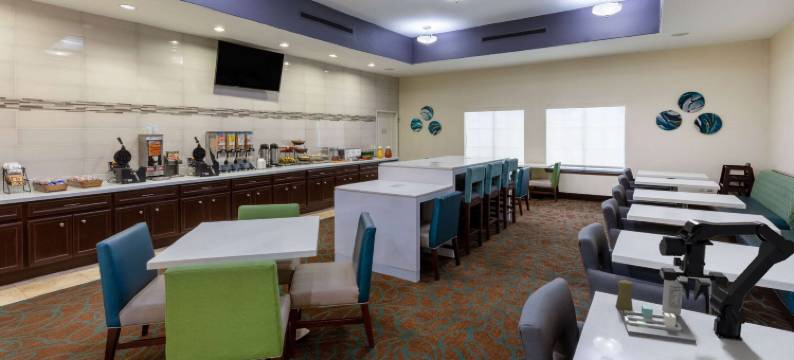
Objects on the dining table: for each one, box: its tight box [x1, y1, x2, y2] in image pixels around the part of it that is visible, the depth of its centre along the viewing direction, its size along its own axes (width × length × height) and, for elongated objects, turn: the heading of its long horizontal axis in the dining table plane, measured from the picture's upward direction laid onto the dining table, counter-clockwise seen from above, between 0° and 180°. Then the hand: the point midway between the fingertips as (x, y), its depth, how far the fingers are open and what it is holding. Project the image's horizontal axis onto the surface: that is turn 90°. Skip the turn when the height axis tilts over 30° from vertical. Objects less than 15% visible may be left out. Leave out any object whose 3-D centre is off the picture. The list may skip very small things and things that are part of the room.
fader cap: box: [663, 312, 677, 327], centre depth 148 cm, size 3×3×4 cm
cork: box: [615, 279, 634, 312], centre depth 166 cm, size 6×6×11 cm
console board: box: [620, 304, 697, 344], centre depth 150 cm, size 20×16×5 cm
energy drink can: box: [661, 279, 684, 318], centre depth 159 cm, size 6×6×15 cm
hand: (691, 299), depth 145 cm, fingers closed
